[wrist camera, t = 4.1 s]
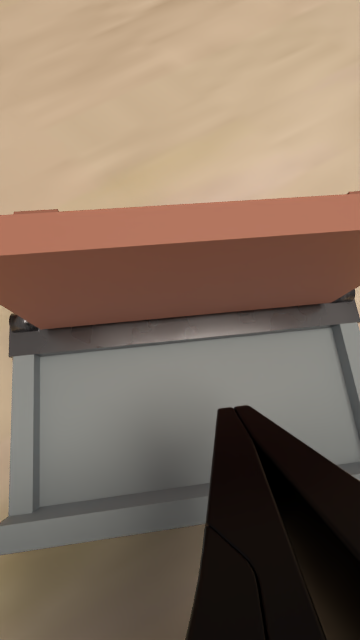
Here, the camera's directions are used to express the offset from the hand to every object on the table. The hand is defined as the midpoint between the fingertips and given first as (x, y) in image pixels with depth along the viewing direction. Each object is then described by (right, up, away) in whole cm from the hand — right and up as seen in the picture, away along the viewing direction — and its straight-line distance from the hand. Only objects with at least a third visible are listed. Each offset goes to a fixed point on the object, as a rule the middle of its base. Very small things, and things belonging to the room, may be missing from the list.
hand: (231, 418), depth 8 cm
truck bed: (0, -3, +9) cm, 9 cm away
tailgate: (-1, +3, +8) cm, 9 cm away
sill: (-1, +3, +10) cm, 11 cm away
